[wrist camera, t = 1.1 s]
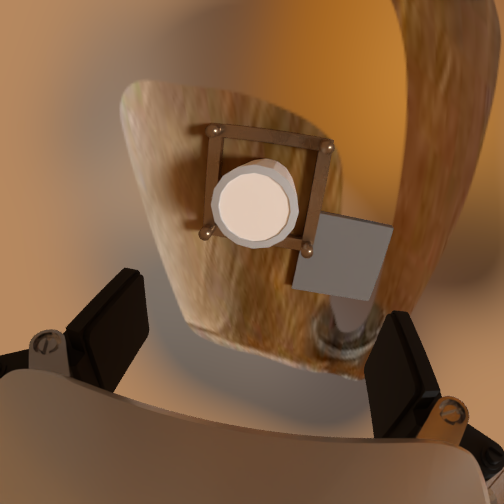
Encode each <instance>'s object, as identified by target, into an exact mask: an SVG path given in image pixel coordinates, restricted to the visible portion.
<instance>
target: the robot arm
mask: <svg viewBox="0 0 504 504" xmlns="http://www.w3.org/2000/svg"><path fill="white" fill-rule="evenodd" d="M148 333H149V323H148V316H147V308H146V298H145V288H144V278H143V276H142V275H140V272H139V271H138V270H134V269H130V268H124V269H122V270H121V271H120V272H119V273H118V274H117V275H116V276H115V277H114V278H113V279H112V280H111V281H110V282H109V283H108V284H107V285H106V286H105V287H104V288H103V289H102V290H101V291H100V292H99V293H98V294H97V295H96V296H95V297H94V299H92V301H90V303H89V304H88V305H87V306H86V307H85V308H84V309H83V310H82V311H81V312H80V313H79V314H78V315H77V316H76V317H75V318H74V319H73V320H72V322H71V323H70V324H69V325H68V326H67V327H66V331H65V332H64V333H63V334H62V333H61V332H59V331H58V330H52V329H51V330H44V331H41V332H39V333H37V334H36V335H35V336H34V337H33V338H32V339H31V341H30V344H29V349H27V350H22V351H18V352H14V353H9V354H5V355H1V356H0V504H504V451H503V449H502V447H501V446H500V445H499V444H497V443H496V442H494V441H493V440H491V439H490V438H488V437H487V436H485V435H484V434H483V433H481V432H480V431H478V430H476V429H475V428H474V427H472V426H471V425H469V424H468V420H469V412H468V409H467V407H466V406H465V404H464V403H463V402H462V401H461V400H459V399H458V398H455V397H452V396H445V397H442V396H441V393H440V388H439V385H438V383H437V380H436V377H435V375H434V372H433V370H432V367H431V365H430V362H429V360H428V357H427V355H426V352H425V350H424V348H423V345H422V343H421V340H420V338H419V336H418V334H417V332H416V329H415V327H414V324H413V322H412V320H411V318H410V316H409V314H408V312H403V311H395V310H394V311H392V313H391V314H388V315H387V316H386V318H385V321H384V323H383V326H382V328H381V330H380V333H379V335H378V337H377V340H376V342H375V344H374V346H373V349H372V351H371V353H370V355H369V357H368V359H367V361H366V364H365V367H364V374H365V380H366V385H367V392H368V397H369V404H370V411H371V418H372V424H373V432H374V438H340V437H321V436H308V435H297V434H288V433H280V432H272V431H265V430H257V429H252V428H245V427H240V426H234V425H229V424H223V423H219V422H214V421H209V420H205V419H200V418H196V417H192V416H188V415H184V414H180V413H176V412H173V411H169V410H165V409H162V408H158V407H155V406H151V405H148V404H145V403H142V402H139V401H135V400H132V399H130V398H127V397H124V396H121V395H118V394H115V393H113V392H114V390H115V389H116V387H117V385H118V384H119V382H120V380H121V379H122V377H123V375H124V374H125V372H126V371H127V369H128V367H129V365H130V364H131V362H132V361H133V359H134V357H135V356H136V354H137V352H138V351H139V349H140V348H141V346H142V344H143V343H144V341H145V340H146V338H147V336H148Z"/></svg>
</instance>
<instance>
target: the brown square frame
mask: <svg viewBox="0 0 504 504" xmlns="http://www.w3.org/2000/svg"><path fill="white" fill-rule="evenodd" d="M205 134H206V136H208V137H209V146H208V159H207V172H206V186H205V202H204V220H203V228H202V229H201V230H200V231H199V237H200V239H202V240H205V241H206V240H208V239H209V238H210V237H211V235H214V236H220V237H226V236H225V235H224V234H223V233H222V231H221V230H220V229H219V227H218V226H217V224H216V223H215V221H214V217H213V212H212V208H211V202H212V197H213V191H214V188H215V187H216V186H217V184H218V183H219V181H220V178H221V166H222V155H223V145H224V137H227V138H237V139H245V140H253V141H261V142H268V143H275V144H282V145H288V146H294V147H300V148H306V149H311V150H317V151H318V154H317V160H316V165H315V171H314V177H313V183H312V188H311V194H310V199H309V204H308V210H307V215H306V220H305V225H304V230H303V236H300V235H295V234H288V235H287V237H286V238H285V239H284V240H282V241H280V242H278V243H276V244H274V245H272V246H278V247H283V248H289V249H295V250H300V251H301V255H302V257H303V258H311V257H312V255H313V244H314V240H315V235H316V231H317V226H318V221H319V216H320V212H321V207H322V202H323V197H324V192H325V187H326V181H327V176H328V171H329V165H330V160H331V154H332V153H333V151H334V144H333V143H334V140H331V139H326V138H321V137H316V136H310V135H305V134H299V133H293V132H286V131H280V130H273V129H265V128H258V127H249V126H240V125H231V124H220V123H210V125H209V126H207V127H206V129H205ZM226 238H228V237H226Z"/></svg>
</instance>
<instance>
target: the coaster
mask: <svg viewBox="0 0 504 504" xmlns="http://www.w3.org/2000/svg"><path fill="white" fill-rule="evenodd" d="M393 229H394V228H393V227H392V225H387V224H383V223H378V222H373V221H368V220H364V219H359V218H353V217H349V216H344V215H339V214H334V213H329V212H323V211H321V212H320V216H319V221H318V226H317V231H316V235H315V240H314V244H313V255H312V257H311V258H303V257H302V255H301V251H300V250H299V255H298V260H297V264H296V269H295V274H294V278H293V283H292V288H293V289H299V290H305V291H310V292H316V293H322V294H328V295H334V296H340V297H347V298H353V299H359V300H365V301H369V299H370V296H371V294H372V291H373V288H374V286H375V283H376V280H377V277H378V274H379V271H380V269H381V266H382V263H383V260H384V257H385V254H386V251H387V248H388V245H389V242H390V238H391V235H392V232H393ZM302 236H303V235H302Z"/></svg>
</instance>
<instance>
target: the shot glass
mask: <svg viewBox="0 0 504 504" xmlns="http://www.w3.org/2000/svg"><path fill="white" fill-rule="evenodd" d="M211 208H212V212H213V217H214V221H215V223H216V224H217V226H218V227H219V229H220V230H221V231H222V233H223V234H224V235H225V236H226V237H228V238H229V239H231V240H232V241H233V242H235V243H236V244H239V245H242V246H246V247H249V248H264V247H270V246H272V245H274V244H276V243H278V242H280V241H282V240H284V239H285V238H286V237H287V235H288V234H289V233H290V232H291V231H292V230H293V229H294V227H295V223H296V220H297V217H298V213H299V209H298V201H297V194H296V190H295V186H294V183H293V179H292V177H291V175H290V173H289V172H288V170H287V168H286V167H284V166H283V165H282V164H280V163H279V162H277V161H274V160H270V159H267V158H265V159H258V160H253V161H251V162H248V163H246V164H244V165H241V166H239V167H237V168H235V169H233V170H232V171H230V172H229V173H227V174H225V175H224V176H223V177H222V178H221V180H220V181H219V183H218V184H217V186H216V187H215V188H214V191H213V197H212V202H211Z"/></svg>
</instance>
